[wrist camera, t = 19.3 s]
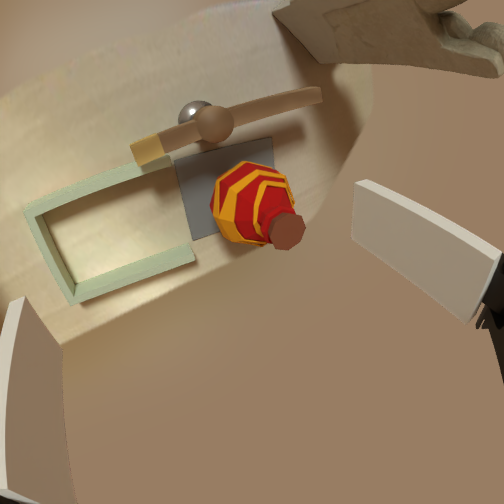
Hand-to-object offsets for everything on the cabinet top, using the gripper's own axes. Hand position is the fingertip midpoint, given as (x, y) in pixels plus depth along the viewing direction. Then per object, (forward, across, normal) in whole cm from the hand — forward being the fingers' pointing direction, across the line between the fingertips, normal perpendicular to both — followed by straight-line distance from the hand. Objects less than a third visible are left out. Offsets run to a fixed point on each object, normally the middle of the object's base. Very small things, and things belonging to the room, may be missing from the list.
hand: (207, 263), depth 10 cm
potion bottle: (+29, +11, -10) cm, 32 cm away
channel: (+29, -6, -10) cm, 31 cm away
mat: (+29, +11, -10) cm, 32 cm away
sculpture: (+29, +27, +13) cm, 42 cm away
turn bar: (+24, +10, +1) cm, 26 cm away
